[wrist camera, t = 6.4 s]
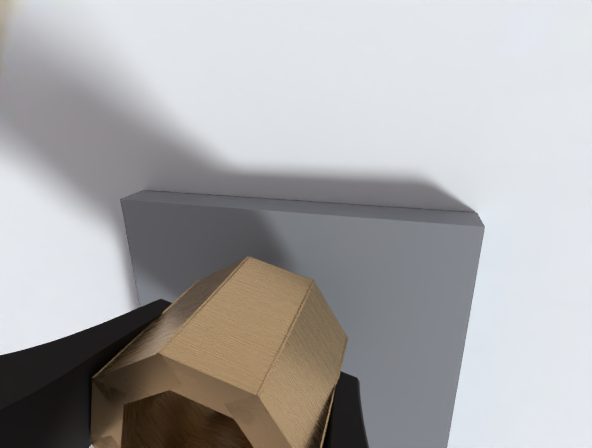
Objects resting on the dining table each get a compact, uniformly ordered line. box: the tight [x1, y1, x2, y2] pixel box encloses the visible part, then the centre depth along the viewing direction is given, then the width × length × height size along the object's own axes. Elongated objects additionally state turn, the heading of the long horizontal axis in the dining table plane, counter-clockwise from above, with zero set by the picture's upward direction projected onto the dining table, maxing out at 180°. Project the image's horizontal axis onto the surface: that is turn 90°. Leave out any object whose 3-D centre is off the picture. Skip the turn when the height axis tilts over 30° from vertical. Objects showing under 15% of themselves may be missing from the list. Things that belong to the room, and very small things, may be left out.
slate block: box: [120, 190, 485, 448], centre depth 18 cm, size 20×14×2 cm
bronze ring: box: [90, 256, 348, 448], centre depth 11 cm, size 6×6×5 cm
